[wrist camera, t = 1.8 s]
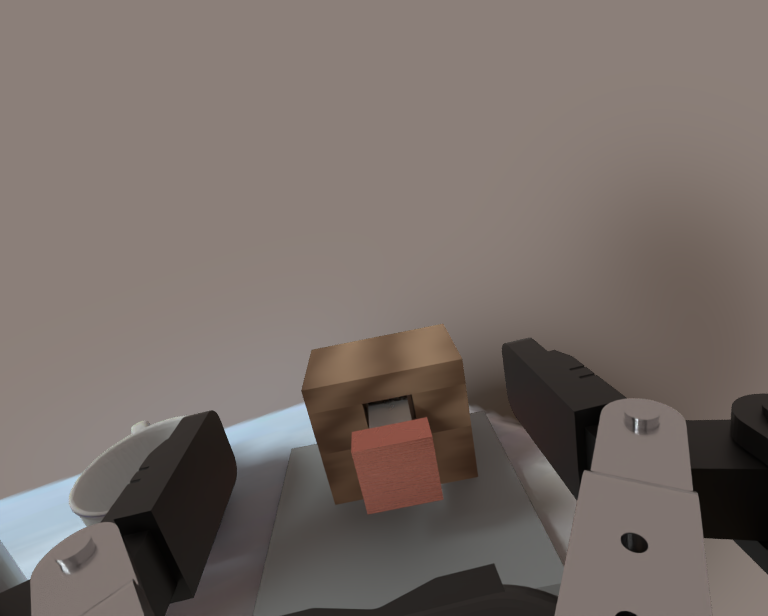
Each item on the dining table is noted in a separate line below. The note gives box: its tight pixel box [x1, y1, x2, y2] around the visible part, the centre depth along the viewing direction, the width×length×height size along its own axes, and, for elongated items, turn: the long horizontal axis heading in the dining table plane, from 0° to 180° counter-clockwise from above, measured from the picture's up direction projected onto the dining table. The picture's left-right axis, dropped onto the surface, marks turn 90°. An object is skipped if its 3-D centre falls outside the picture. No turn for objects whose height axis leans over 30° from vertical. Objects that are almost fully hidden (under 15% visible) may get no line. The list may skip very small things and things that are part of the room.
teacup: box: [69, 415, 190, 527], centre depth 36 cm, size 14×11×8 cm
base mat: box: [253, 411, 564, 616], centre depth 33 cm, size 20×18×1 cm
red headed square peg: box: [351, 395, 444, 514], centre depth 30 cm, size 5×9×5 cm, turn 4°
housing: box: [301, 324, 478, 505], centre depth 35 cm, size 12×7×12 cm, turn 94°
